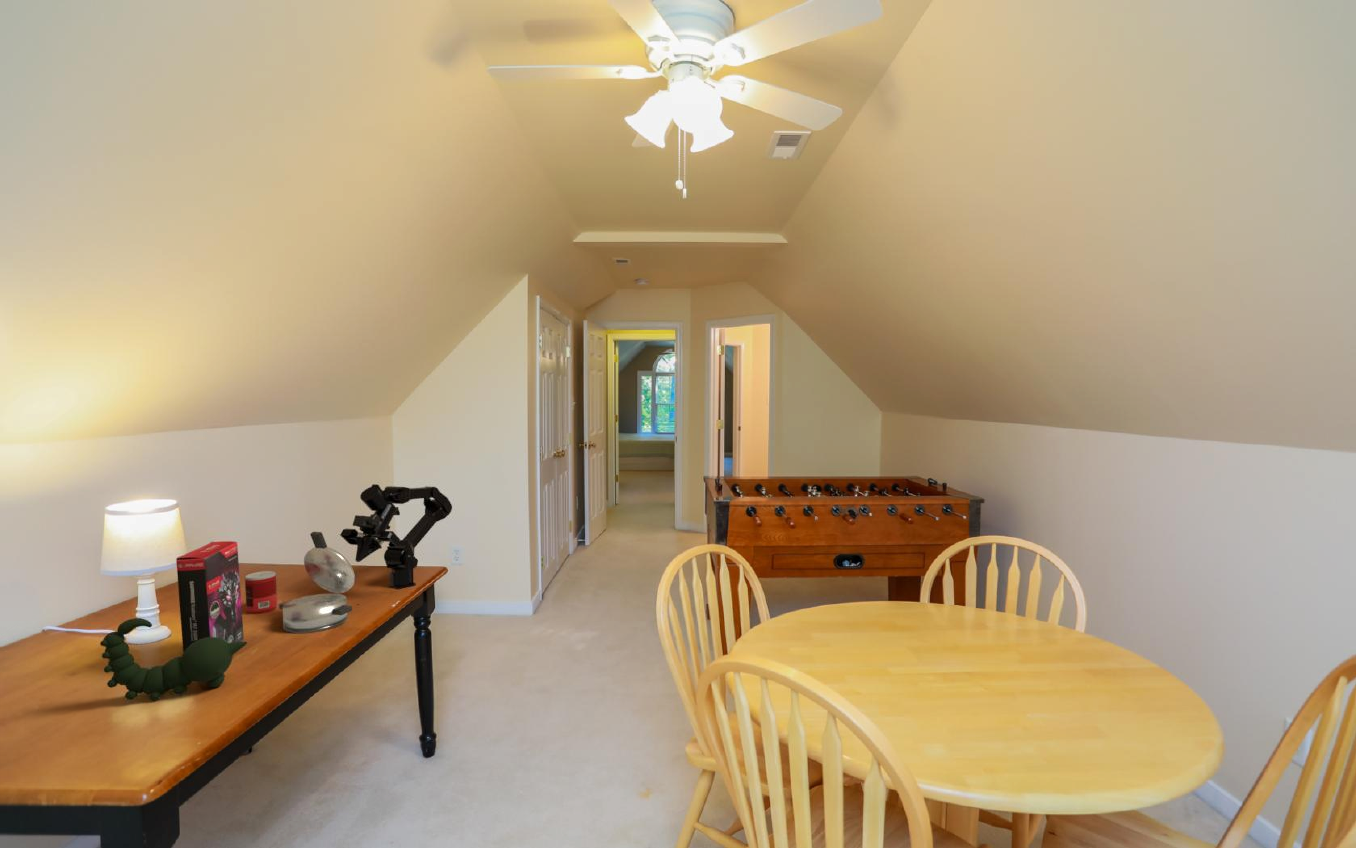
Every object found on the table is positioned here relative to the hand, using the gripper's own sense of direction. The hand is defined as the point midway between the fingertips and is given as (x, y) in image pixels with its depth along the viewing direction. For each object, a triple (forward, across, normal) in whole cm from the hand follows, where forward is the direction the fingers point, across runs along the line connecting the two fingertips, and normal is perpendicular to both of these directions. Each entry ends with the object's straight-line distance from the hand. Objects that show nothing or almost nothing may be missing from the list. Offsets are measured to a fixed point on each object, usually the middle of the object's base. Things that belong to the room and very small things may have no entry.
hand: (357, 561), depth 201 cm
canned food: (+18, -25, +2) cm, 31 cm away
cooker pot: (+21, 0, -2) cm, 21 cm away
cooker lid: (+7, 0, -10) cm, 13 cm away
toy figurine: (+52, +5, -32) cm, 61 cm away
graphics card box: (+39, -7, -20) cm, 44 cm away
